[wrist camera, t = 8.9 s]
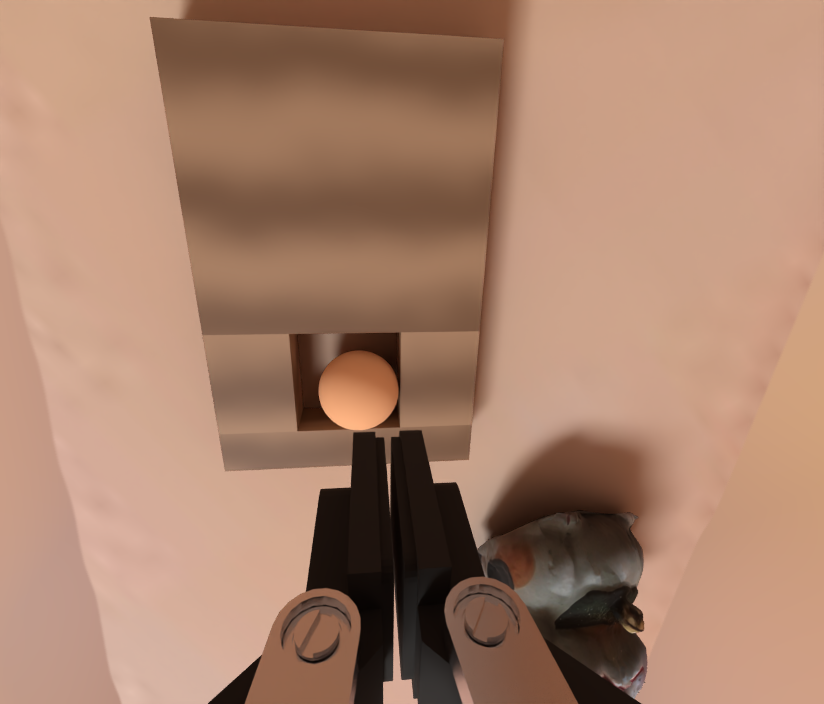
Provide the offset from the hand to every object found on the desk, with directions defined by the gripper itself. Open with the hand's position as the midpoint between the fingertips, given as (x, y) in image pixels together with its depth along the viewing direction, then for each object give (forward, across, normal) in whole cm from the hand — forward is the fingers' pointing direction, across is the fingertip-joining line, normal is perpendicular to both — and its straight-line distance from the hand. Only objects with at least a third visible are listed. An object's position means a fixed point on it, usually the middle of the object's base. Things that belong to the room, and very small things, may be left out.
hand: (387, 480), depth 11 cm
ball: (+15, +1, +6) cm, 17 cm away
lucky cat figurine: (+18, -15, +23) cm, 33 cm away
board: (+18, +2, -1) cm, 18 cm away
